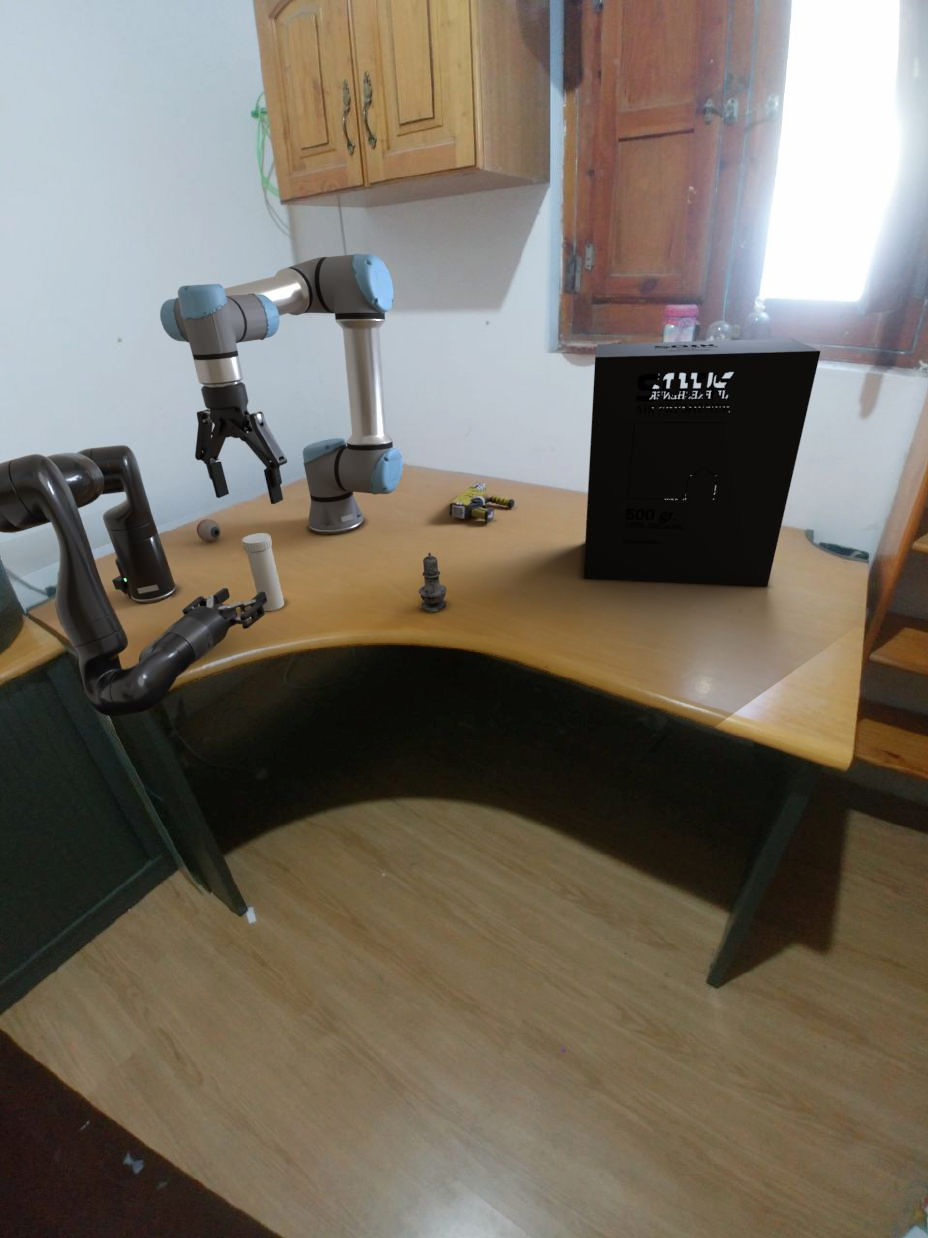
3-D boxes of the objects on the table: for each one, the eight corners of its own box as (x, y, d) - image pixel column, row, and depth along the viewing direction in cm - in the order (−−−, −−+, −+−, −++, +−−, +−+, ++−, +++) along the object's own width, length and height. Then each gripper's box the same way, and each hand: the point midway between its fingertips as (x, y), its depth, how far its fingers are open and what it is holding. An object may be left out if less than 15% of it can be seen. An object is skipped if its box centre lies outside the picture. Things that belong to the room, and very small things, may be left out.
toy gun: (522, 487, 180) (475, 480, 184) (500, 511, 160) (447, 502, 164) (521, 502, 182) (474, 495, 186) (499, 527, 162) (447, 519, 166)
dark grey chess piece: (444, 613, 122) (440, 559, 116) (416, 611, 123) (411, 558, 117) (450, 599, 127) (447, 547, 121) (424, 598, 128) (419, 546, 122)
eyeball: (210, 546, 160) (204, 525, 157) (195, 542, 163) (189, 521, 160) (228, 538, 164) (223, 518, 161) (213, 535, 167) (208, 514, 164)
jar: (275, 598, 132) (260, 533, 125) (288, 603, 130) (274, 538, 122) (256, 607, 129) (239, 541, 122) (269, 613, 126) (253, 546, 119)
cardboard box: (748, 547, 142) (790, 338, 120) (767, 586, 125) (820, 350, 103) (586, 541, 150) (597, 344, 127) (583, 577, 133) (595, 357, 110)
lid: (262, 539, 126) (260, 530, 125) (278, 544, 123) (276, 536, 122) (238, 548, 122) (236, 539, 121) (254, 554, 119) (252, 545, 118)
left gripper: (222, 621, 103) (273, 579, 116) (153, 614, 107) (210, 574, 120) (233, 658, 107) (281, 613, 120) (166, 649, 110) (219, 607, 124)
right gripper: (292, 380, 105) (313, 498, 116) (186, 379, 115) (215, 487, 125) (263, 388, 99) (288, 511, 110) (154, 385, 109) (187, 499, 119)
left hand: (245, 593), depth 120 cm, fingers open, 8 cm apart
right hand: (249, 498), depth 118 cm, fingers open, 13 cm apart
